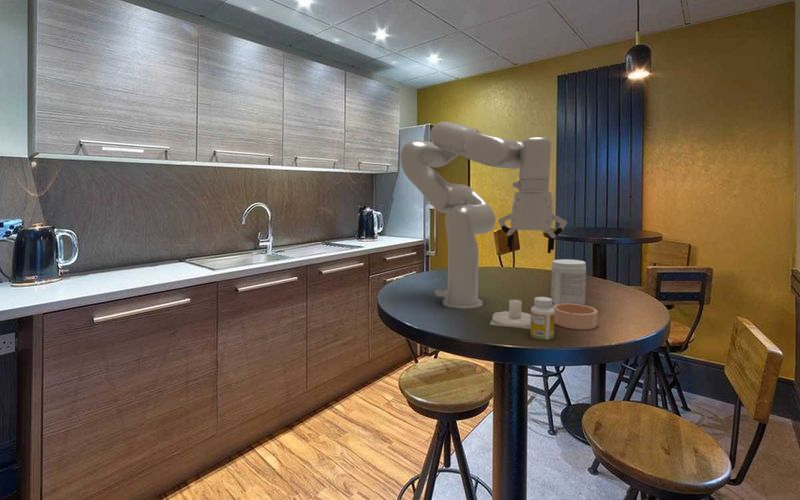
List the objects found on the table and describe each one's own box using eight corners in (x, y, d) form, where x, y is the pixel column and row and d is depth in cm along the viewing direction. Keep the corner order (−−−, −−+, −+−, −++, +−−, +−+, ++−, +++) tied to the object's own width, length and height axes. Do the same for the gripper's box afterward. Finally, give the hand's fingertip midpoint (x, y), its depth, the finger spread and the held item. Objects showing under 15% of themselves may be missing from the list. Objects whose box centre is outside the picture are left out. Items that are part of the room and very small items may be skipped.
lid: (489, 324, 103) (489, 304, 102) (495, 312, 114) (495, 294, 114) (537, 329, 99) (538, 308, 98) (538, 316, 110) (539, 297, 109)
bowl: (553, 328, 101) (553, 312, 101) (552, 317, 111) (553, 302, 110) (598, 333, 97) (599, 316, 97) (593, 321, 107) (594, 305, 107)
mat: (489, 326, 103) (489, 324, 103) (495, 314, 114) (495, 312, 114) (537, 331, 99) (537, 329, 99) (538, 318, 110) (538, 316, 110)
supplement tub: (590, 310, 118) (593, 261, 116) (572, 315, 113) (574, 265, 111) (562, 303, 126) (564, 258, 124) (543, 307, 121) (545, 260, 119)
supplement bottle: (546, 333, 98) (548, 295, 97) (557, 341, 93) (559, 301, 91) (526, 334, 97) (527, 296, 96) (536, 342, 92) (537, 301, 91)
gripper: (497, 186, 102) (494, 251, 105) (569, 186, 95) (564, 255, 98) (502, 187, 109) (499, 247, 112) (569, 187, 102) (565, 251, 105)
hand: (530, 251), depth 105 cm, fingers open, 9 cm apart
